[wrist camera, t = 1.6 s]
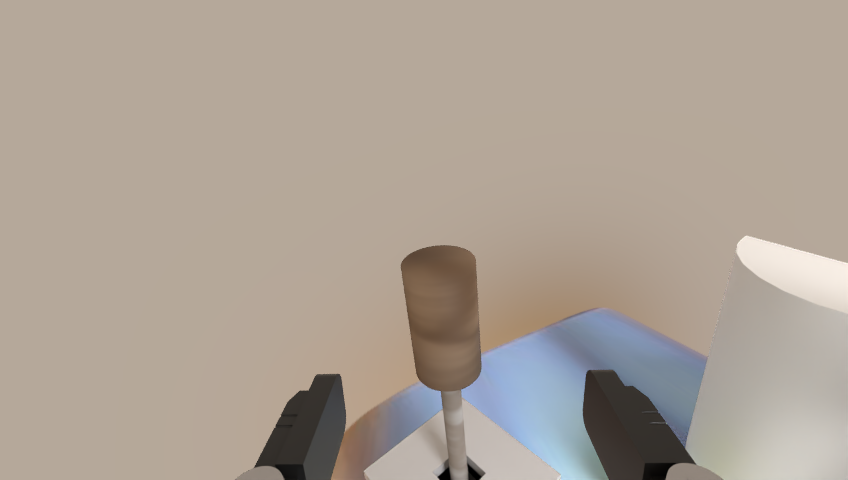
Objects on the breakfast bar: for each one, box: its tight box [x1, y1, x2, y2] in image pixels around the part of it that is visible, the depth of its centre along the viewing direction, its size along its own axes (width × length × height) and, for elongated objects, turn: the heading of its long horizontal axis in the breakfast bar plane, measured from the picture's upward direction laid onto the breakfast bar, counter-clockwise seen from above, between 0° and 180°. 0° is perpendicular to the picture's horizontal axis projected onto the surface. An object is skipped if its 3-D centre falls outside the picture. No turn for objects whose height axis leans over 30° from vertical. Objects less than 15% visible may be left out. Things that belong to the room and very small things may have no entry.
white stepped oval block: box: [685, 236, 848, 480], centre depth 40 cm, size 17×17×28 cm
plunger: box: [401, 245, 481, 480], centre depth 29 cm, size 8×8×27 cm
